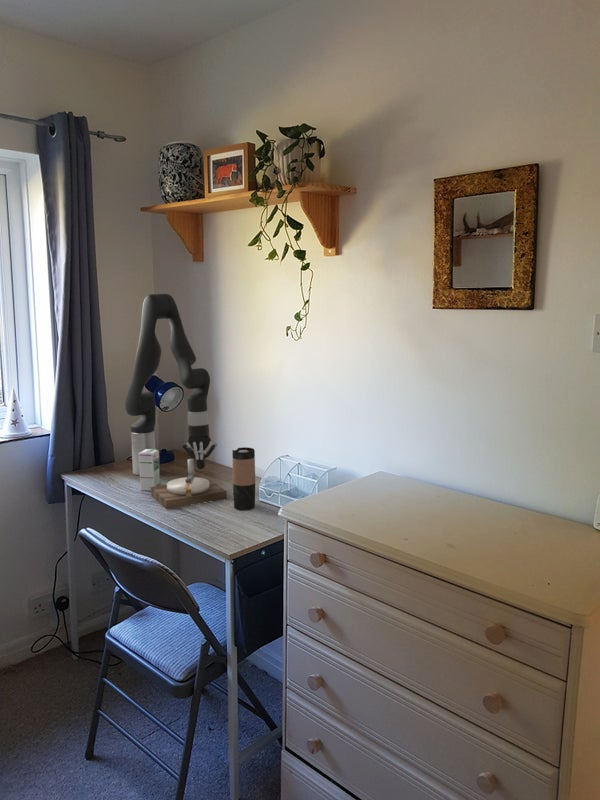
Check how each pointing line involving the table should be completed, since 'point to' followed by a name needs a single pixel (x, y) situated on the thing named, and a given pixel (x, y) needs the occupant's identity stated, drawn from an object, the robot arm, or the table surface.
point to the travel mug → (244, 478)
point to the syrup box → (149, 469)
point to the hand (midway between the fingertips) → (201, 468)
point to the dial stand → (187, 496)
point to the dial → (188, 482)
